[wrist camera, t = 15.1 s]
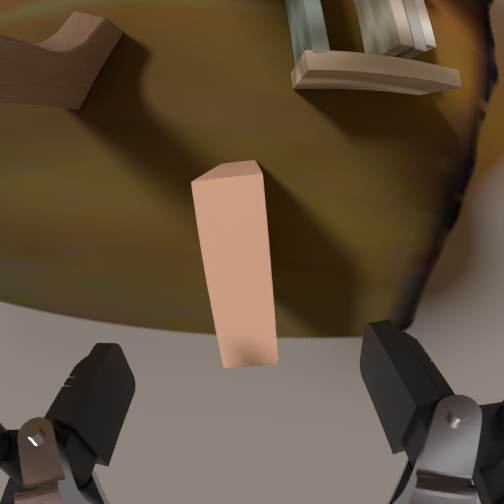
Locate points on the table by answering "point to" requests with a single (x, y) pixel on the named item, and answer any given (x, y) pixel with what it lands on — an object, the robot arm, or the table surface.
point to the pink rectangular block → (237, 261)
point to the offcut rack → (368, 49)
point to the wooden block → (57, 63)
